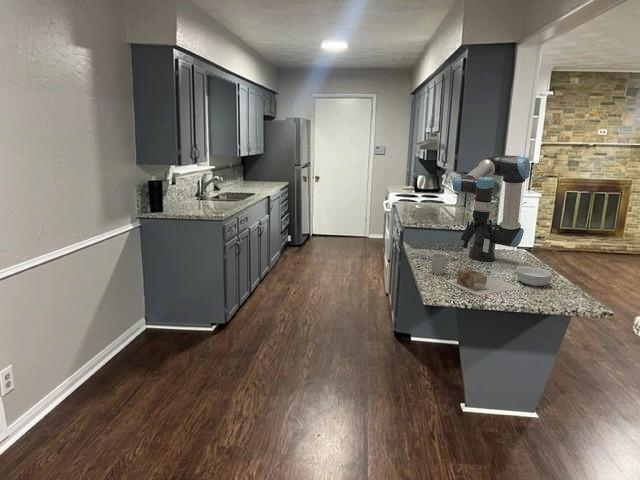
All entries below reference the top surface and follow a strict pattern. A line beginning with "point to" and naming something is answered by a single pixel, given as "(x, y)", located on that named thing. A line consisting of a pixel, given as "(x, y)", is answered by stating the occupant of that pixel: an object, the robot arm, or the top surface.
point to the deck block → (471, 279)
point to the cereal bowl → (533, 276)
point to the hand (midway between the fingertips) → (475, 253)
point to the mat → (491, 286)
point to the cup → (438, 263)
